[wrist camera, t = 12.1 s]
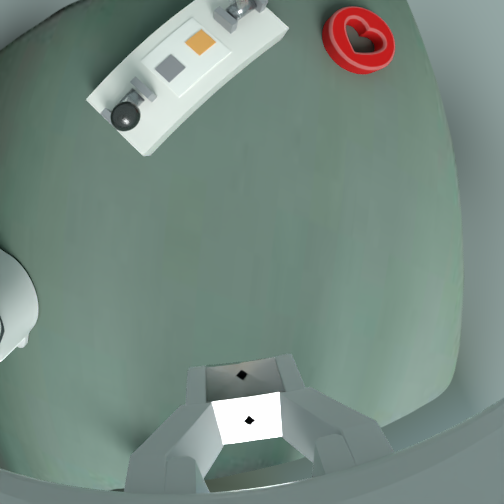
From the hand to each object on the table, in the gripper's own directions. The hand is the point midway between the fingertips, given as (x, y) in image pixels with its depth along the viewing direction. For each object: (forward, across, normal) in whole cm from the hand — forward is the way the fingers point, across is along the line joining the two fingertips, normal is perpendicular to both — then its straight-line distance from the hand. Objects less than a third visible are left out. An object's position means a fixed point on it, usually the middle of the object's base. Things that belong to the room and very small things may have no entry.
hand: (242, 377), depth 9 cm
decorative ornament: (+32, -20, -21) cm, 43 cm away
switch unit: (+31, +2, -18) cm, 36 cm away
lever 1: (+26, +8, -13) cm, 30 cm away
